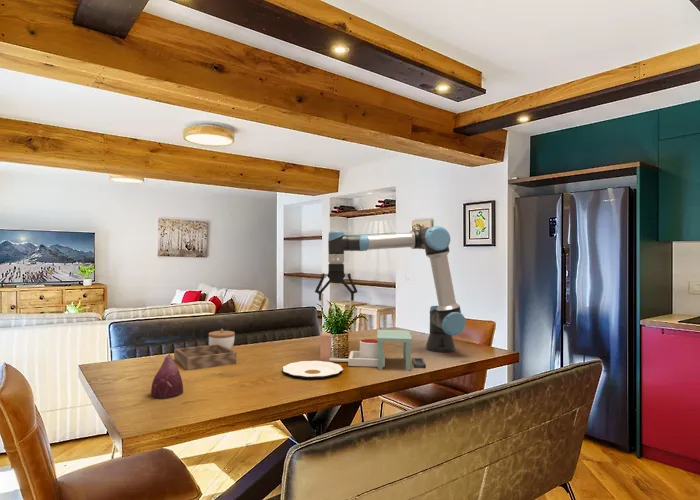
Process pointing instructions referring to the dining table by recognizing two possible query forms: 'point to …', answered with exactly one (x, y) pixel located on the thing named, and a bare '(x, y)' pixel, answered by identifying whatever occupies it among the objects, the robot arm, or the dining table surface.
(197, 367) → the brown wooden tray
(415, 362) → the pit tray
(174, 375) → the vegetable
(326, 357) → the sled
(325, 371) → the plate
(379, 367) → the mint green stool
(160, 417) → the dining table surface
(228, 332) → the lidded bowl
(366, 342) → the cup
